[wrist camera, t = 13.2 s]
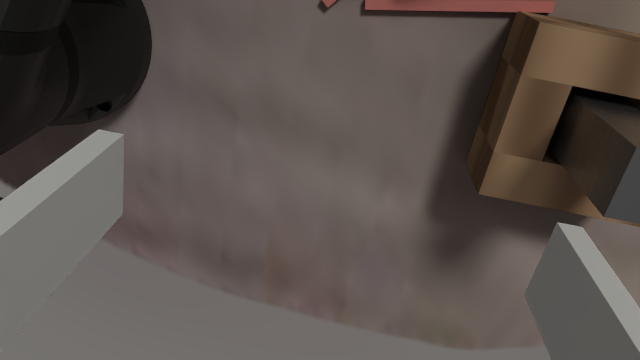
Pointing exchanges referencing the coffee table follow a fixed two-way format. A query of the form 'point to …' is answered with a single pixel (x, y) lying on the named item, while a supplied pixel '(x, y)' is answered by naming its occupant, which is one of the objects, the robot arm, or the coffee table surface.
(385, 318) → the coffee table surface
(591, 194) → the dark grey bar
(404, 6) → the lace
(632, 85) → the wooden square frame
